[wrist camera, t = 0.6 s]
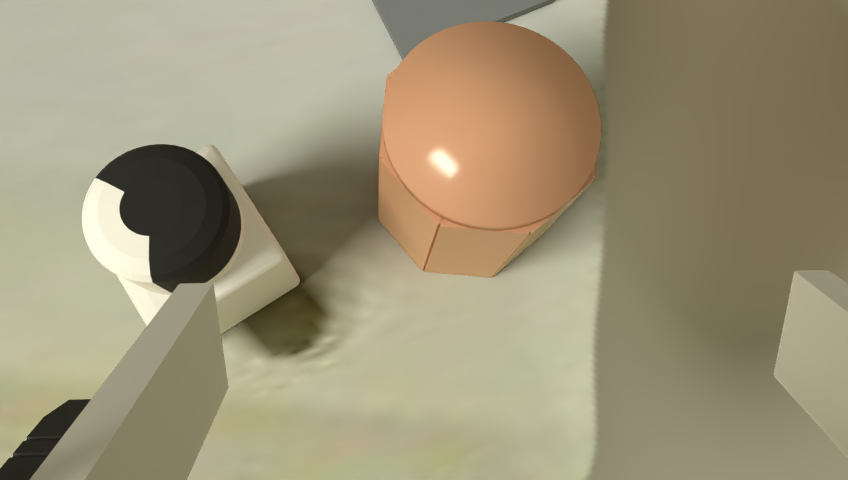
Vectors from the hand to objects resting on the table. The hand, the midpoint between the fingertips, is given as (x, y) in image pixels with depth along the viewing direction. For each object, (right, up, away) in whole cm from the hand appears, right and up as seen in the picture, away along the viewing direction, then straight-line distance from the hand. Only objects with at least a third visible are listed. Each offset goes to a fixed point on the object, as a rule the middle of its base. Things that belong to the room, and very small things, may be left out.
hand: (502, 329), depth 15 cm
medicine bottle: (-14, 0, +24) cm, 28 cm away
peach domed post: (+1, +5, +26) cm, 26 cm away
